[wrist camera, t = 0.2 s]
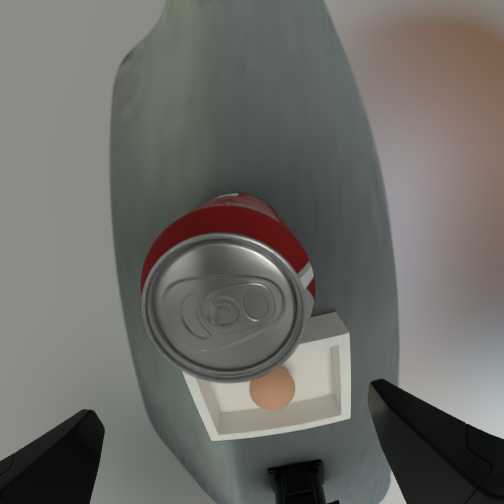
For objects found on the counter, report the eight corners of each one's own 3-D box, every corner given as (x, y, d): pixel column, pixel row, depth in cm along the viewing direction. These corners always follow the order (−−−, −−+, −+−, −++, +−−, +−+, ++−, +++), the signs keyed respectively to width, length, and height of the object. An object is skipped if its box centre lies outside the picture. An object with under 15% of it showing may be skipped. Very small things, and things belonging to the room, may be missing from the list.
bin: (340, 393, 25) (350, 418, 21) (215, 414, 25) (212, 440, 22) (336, 311, 22) (349, 333, 19) (187, 337, 23) (178, 362, 19)
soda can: (177, 207, 20) (96, 246, 9) (271, 181, 20) (302, 186, 8) (205, 295, 22) (168, 406, 10) (293, 272, 22) (338, 372, 10)
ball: (294, 386, 24) (300, 415, 20) (253, 393, 24) (254, 422, 20) (289, 354, 23) (295, 382, 19) (245, 362, 23) (244, 390, 19)
